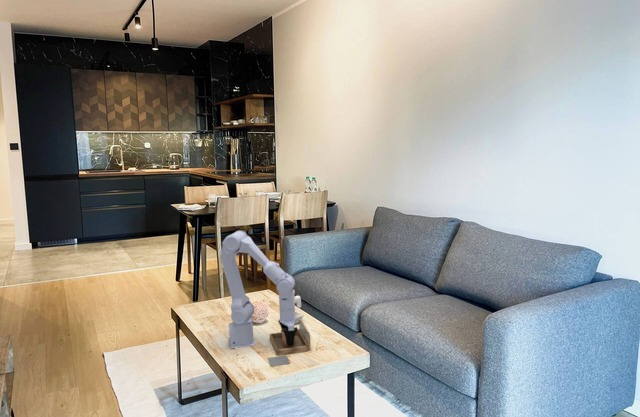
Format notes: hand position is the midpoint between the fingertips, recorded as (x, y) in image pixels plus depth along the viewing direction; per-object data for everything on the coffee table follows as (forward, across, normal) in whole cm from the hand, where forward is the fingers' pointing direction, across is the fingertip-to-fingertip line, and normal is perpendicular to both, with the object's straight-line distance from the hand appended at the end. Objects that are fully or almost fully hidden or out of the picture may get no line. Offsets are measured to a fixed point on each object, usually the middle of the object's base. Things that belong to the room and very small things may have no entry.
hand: (288, 341), depth 188 cm
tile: (+2, -12, +6) cm, 14 cm away
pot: (+1, 0, 0) cm, 1 cm away
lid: (+2, 0, -6) cm, 7 cm away
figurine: (+2, +22, -6) cm, 23 cm away
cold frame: (+2, 0, 0) cm, 2 cm away
